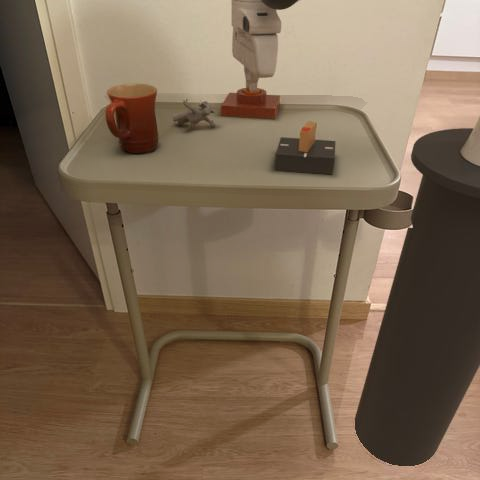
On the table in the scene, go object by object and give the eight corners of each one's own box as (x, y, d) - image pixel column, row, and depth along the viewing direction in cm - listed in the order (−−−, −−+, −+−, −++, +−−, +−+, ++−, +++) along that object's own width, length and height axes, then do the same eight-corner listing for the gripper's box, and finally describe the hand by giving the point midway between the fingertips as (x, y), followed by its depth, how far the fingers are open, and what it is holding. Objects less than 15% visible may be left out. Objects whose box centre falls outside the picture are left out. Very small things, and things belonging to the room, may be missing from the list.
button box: (279, 105, 109) (280, 86, 106) (274, 119, 102) (275, 99, 99) (229, 102, 111) (229, 84, 108) (221, 115, 103) (220, 96, 100)
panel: (333, 155, 86) (335, 138, 84) (332, 176, 80) (335, 158, 78) (279, 152, 88) (281, 135, 86) (274, 171, 81) (275, 154, 79)
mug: (134, 136, 93) (126, 81, 86) (171, 144, 90) (166, 87, 83) (96, 158, 85) (84, 98, 78) (136, 166, 82) (127, 105, 75)
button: (260, 96, 105) (260, 88, 104) (258, 101, 103) (258, 92, 102) (244, 95, 106) (244, 87, 105) (242, 100, 103) (242, 91, 102)
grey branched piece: (194, 118, 102) (226, 110, 96) (190, 144, 101) (222, 137, 96) (161, 94, 94) (194, 84, 88) (157, 123, 93) (190, 113, 88)
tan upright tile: (305, 141, 84) (308, 119, 81) (314, 142, 83) (317, 121, 81) (298, 151, 80) (300, 129, 78) (307, 152, 80) (309, 130, 77)
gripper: (225, 8, 101) (225, 78, 110) (253, 25, 86) (251, 104, 95) (252, 8, 102) (251, 76, 111) (284, 24, 88) (280, 102, 97)
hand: (251, 89), depth 103 cm, fingers closed, pressing on button
